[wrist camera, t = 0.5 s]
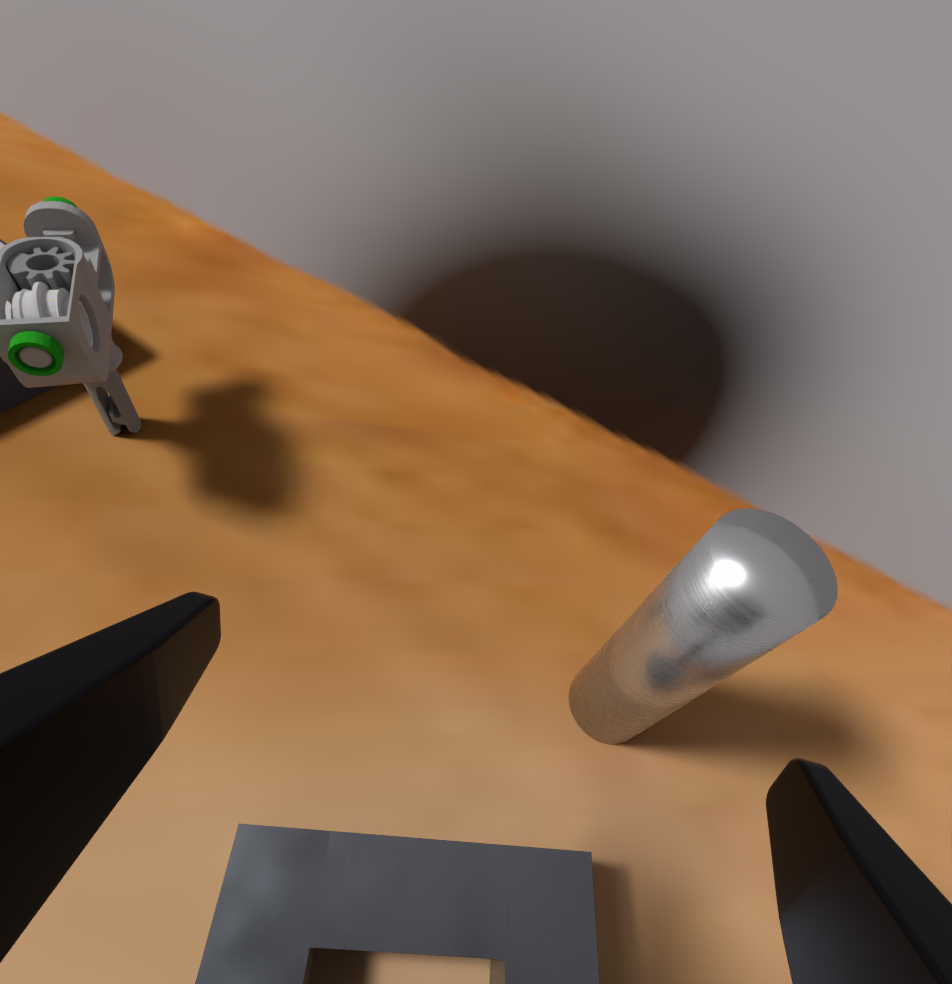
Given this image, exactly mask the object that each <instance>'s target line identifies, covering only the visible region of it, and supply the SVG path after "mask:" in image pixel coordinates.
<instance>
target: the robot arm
mask: <svg viewBox="0 0 952 984" xmlns="http://www.w3.org/2000/svg"><path fill="white" fill-rule="evenodd" d="M220 638H221V625H220V605H219V601H218V600H217V598H215V597H213V596H209V595H206V594H202V593H198V592H189V593H186V594H184V595H181V596H179V597H177V598H174V599H172V600H170V601H167V602H165V603H163V604H160V605H158V606H156V607H153V608H151V609H149V610H146V611H144V612H142V613H139V614H137V615H135V616H132V617H130V618H128V619H126V620H123V621H121V622H119V623H116V624H114V625H112V626H109V627H107V628H105V629H102V630H100V631H98V632H95V633H93V634H91V635H88V636H86V637H84V638H81V639H79V640H77V641H74V642H72V643H70V644H68V645H65V646H63V647H61V648H58V649H56V650H54V651H51V652H49V653H47V654H44V655H42V656H40V657H37V658H35V659H33V660H30V661H28V662H26V663H23V664H21V665H19V666H16V667H14V668H12V669H9V670H7V671H5V672H3V673H0V963H1V961H2V960H3V958H4V957H5V956H6V954H7V953H8V952H9V950H10V949H11V948H12V946H13V945H14V943H15V942H16V941H17V939H18V938H19V937H20V935H21V934H22V933H23V931H24V930H25V928H26V927H27V926H28V924H29V923H30V922H31V920H32V919H33V918H34V916H35V915H36V913H37V912H38V911H39V909H40V908H41V907H42V905H43V904H44V903H45V901H46V900H47V898H48V897H49V896H50V894H51V893H52V892H53V890H54V889H55V887H56V886H57V885H58V883H59V882H60V881H61V879H62V878H63V877H64V875H65V874H66V872H67V871H68V870H69V868H70V867H71V866H72V864H73V863H74V862H75V860H76V859H77V857H78V856H79V855H80V853H81V852H82V851H83V849H84V848H85V847H86V845H87V844H88V842H89V841H90V840H91V838H92V837H93V836H94V834H95V833H96V832H97V830H98V829H99V827H100V826H101V825H102V823H103V822H104V821H105V819H106V818H107V817H108V815H109V814H110V812H111V811H112V810H113V808H114V807H115V806H116V804H117V803H118V801H119V800H120V799H121V797H122V796H123V795H124V793H125V792H126V791H127V789H128V788H129V786H130V785H131V784H132V782H133V781H134V780H135V778H136V777H137V776H138V774H139V773H140V771H141V770H142V769H143V767H144V766H145V765H146V763H147V762H148V761H149V759H150V758H151V756H152V755H153V754H154V752H155V751H156V749H157V748H158V747H159V745H160V744H161V742H162V741H163V739H164V738H165V736H166V735H167V733H168V731H169V730H170V728H171V727H172V725H173V723H174V722H175V720H176V718H177V717H178V715H179V713H180V712H181V710H182V708H183V706H184V705H185V703H186V701H187V700H188V698H189V696H190V695H191V693H192V691H193V689H194V688H195V686H196V684H197V683H198V681H199V679H200V678H201V676H202V674H203V672H204V671H205V669H206V667H207V666H208V664H209V662H210V661H211V659H212V657H213V655H214V654H215V652H216V650H217V648H218V646H219V643H220ZM766 810H767V819H768V828H769V836H770V845H771V854H772V863H773V872H774V880H775V889H776V898H777V905H778V912H779V919H780V924H781V930H782V935H783V940H784V945H785V949H786V954H787V959H788V964H789V968H790V973H791V978H792V982H793V984H952V904H951V903H950V902H949V901H948V900H947V899H946V897H945V896H944V895H943V894H942V893H941V892H940V891H939V890H938V889H937V888H936V886H935V885H934V884H933V883H932V882H931V881H930V880H929V879H928V878H927V877H926V875H925V874H924V873H923V872H922V871H921V870H920V869H919V868H918V867H917V866H916V864H915V863H914V862H913V861H912V860H911V859H910V858H909V857H908V856H907V855H906V853H905V852H904V851H903V850H902V849H901V848H900V847H899V846H898V845H897V844H896V842H895V841H894V840H893V839H892V838H891V837H890V836H889V835H888V834H887V833H886V831H885V830H884V829H883V828H882V827H881V826H880V825H879V824H878V823H877V822H876V820H875V819H874V818H873V817H872V816H871V815H870V814H869V813H868V812H867V811H866V809H865V808H864V807H863V806H862V805H861V804H860V803H859V802H858V801H857V800H856V798H855V797H854V796H853V795H852V794H851V793H850V792H849V791H848V790H847V789H846V787H845V786H844V785H843V784H842V783H841V782H840V781H839V780H838V779H837V777H836V776H835V775H834V774H833V773H832V772H831V771H830V770H829V769H828V768H827V767H825V766H824V765H822V764H819V763H815V762H812V761H808V760H804V759H801V758H795V759H793V760H791V761H790V762H789V763H788V764H787V766H786V767H785V768H784V770H783V771H782V772H781V774H780V775H779V776H778V778H777V779H776V780H775V782H774V783H773V784H772V786H771V787H770V789H769V791H768V793H767V798H766Z"/></svg>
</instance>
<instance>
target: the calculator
mask: <svg viewBox="0 0 952 984" xmlns="http://www.w3.org/2000/svg"><path fill="white" fill-rule="evenodd" d="M5 245H7V244H6V243H5V242H3V241H2V240H1V239H0V249H1V248H2V247H3V246H5ZM5 314H6V319H11V304H10V302H8V301H7V302H6V305H5ZM111 337H112V335H111ZM112 340H113V342H114V344H115V345H116V343H115V341H114V339H113V337H112ZM57 386H58V385H57ZM54 387H56V386H45V387H33V388H27V387H25V386H24V385H22V384H21V383H20V381H19V380H18V379H17V377H16V376H15V374H14V373H13V371H12V370H11V368H10V367H9V365H8V364H7V363H6V362H4V361H3V360H2V358H1V357H0V413H2V412H5V411H7V410H9V409H11V408H13V407H15V406H17V405H19V404H21V403H23V402H25V401H27V400H29V399H31V398H33V397H35V396H37V395H39V394H41V393H44V392H46V391H48V390H50V389H52V388H54Z"/></svg>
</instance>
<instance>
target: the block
mask: <svg viewBox="0 0 952 984" xmlns="http://www.w3.org/2000/svg"><path fill="white" fill-rule="evenodd" d="M315 948H326V949H343V950H359V951H376V952H392V953H408V954H425V955H441V956H458V957H474V958H490V959H491V962H490V984H599V970H598V954H597V937H596V921H595V905H594V888H593V872H592V856H591V852H583V851H571V850H559V849H546V848H534V847H521V846H509V845H497V844H484V843H472V842H459V841H447V840H435V839H422V838H410V837H397V836H385V835H373V834H360V833H348V832H335V831H323V830H311V829H298V828H286V827H273V826H261V825H249V824H239V825H238V829H237V832H236V836H235V840H234V843H233V847H232V851H231V854H230V858H229V862H228V865H227V869H226V873H225V876H224V880H223V884H222V887H221V891H220V895H219V898H218V902H217V906H216V909H215V913H214V917H213V920H212V924H211V928H210V931H209V935H208V939H207V942H206V946H205V950H204V953H203V957H202V960H201V964H200V968H199V971H198V975H197V979H196V982H195V984H308V982H309V977H310V971H311V966H312V960H313V955H314V949H315Z"/></svg>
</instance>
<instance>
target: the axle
mask: <svg viewBox="0 0 952 984" xmlns="http://www.w3.org/2000/svg"><path fill="white" fill-rule="evenodd" d="M837 593H838V590H837V580H836V576H835V573H834V570H833V568H832V566H831V563H830V562H829V560H828V558H827V556H826V555H825V553H824V552H823V551H822V549H821V548H820V547H819V546H818V544H817V543H816V542H815V541H814V540H813V539H812V538H811V537H810V536H809V535H808V534H807V533H805V532H804V531H803V530H802V529H800V528H799V527H798V526H796V525H795V524H793V523H792V522H790V521H788V520H786V519H784V518H782V517H781V516H778V515H776V514H773V513H770V512H767V511H763V510H758V509H737V510H733V511H730V512H728V513H726V514H724V515H723V516H722V517H721V518H719V519H718V521H717V522H716V523H715V524H714V525H713V526H712V527H711V528H710V529H709V530H708V532H707V533H706V534H705V535H704V536H703V537H702V538H701V539H700V540H699V541H698V542H697V544H696V545H695V546H694V547H693V548H692V549H691V550H690V551H689V552H688V553H687V555H686V556H685V557H684V558H683V559H682V560H681V561H680V562H679V563H678V564H677V565H676V567H675V568H674V569H673V570H672V571H671V572H670V573H669V574H668V575H667V576H666V578H665V579H664V580H663V581H662V582H661V583H660V584H659V585H658V586H657V587H656V588H655V590H654V591H653V592H652V593H651V594H650V595H649V596H648V597H647V598H646V599H645V600H644V602H643V603H642V604H641V605H640V606H639V607H638V608H637V609H636V610H635V611H634V613H633V614H632V615H631V616H630V617H629V618H628V619H627V620H626V621H625V622H624V623H623V625H622V626H621V627H620V628H619V629H618V630H617V631H616V632H615V633H614V634H613V636H612V637H611V638H610V639H609V640H608V641H607V642H606V643H605V644H604V645H603V646H602V648H601V649H600V650H599V651H598V652H597V653H596V654H595V655H594V656H593V657H592V659H591V660H590V661H589V662H588V663H587V664H586V665H585V666H584V667H583V668H582V669H581V671H580V672H579V673H578V674H577V675H576V676H575V678H574V679H573V681H572V683H571V686H570V691H569V704H570V708H571V711H572V714H573V716H574V718H575V720H576V722H577V723H578V725H579V726H580V727H581V729H582V730H583V731H584V732H585V733H586V734H588V735H589V736H590V737H592V738H594V739H595V740H597V741H600V742H603V743H607V744H620V743H623V742H626V741H628V740H630V739H631V738H633V737H635V736H636V735H638V734H639V733H641V732H642V731H644V730H646V729H647V728H649V727H650V726H652V725H654V724H655V723H657V722H658V721H660V720H662V719H663V718H665V717H666V716H668V715H669V714H671V713H673V712H674V711H676V710H677V709H679V708H681V707H682V706H684V705H685V704H687V703H689V702H690V701H692V700H693V699H695V698H697V697H698V696H700V695H701V694H703V693H704V692H706V691H708V690H709V689H711V688H712V687H714V686H716V685H717V684H719V683H720V682H722V681H724V680H725V679H727V678H728V677H730V676H731V675H733V674H735V673H736V672H738V671H739V670H741V669H743V668H744V667H746V666H747V665H749V664H751V663H752V662H754V661H755V660H757V659H759V658H760V657H762V656H763V655H765V654H766V653H768V652H770V651H771V650H773V649H774V648H776V647H778V646H779V645H781V644H782V643H784V642H786V641H787V640H789V639H790V638H792V637H794V636H795V635H797V634H798V633H800V632H801V631H803V630H805V629H806V628H808V627H809V626H811V625H813V624H814V623H816V622H817V621H819V620H821V619H822V618H824V617H825V616H826V615H828V613H829V612H830V611H831V610H832V608H833V607H834V605H835V602H836V599H837Z"/></svg>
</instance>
